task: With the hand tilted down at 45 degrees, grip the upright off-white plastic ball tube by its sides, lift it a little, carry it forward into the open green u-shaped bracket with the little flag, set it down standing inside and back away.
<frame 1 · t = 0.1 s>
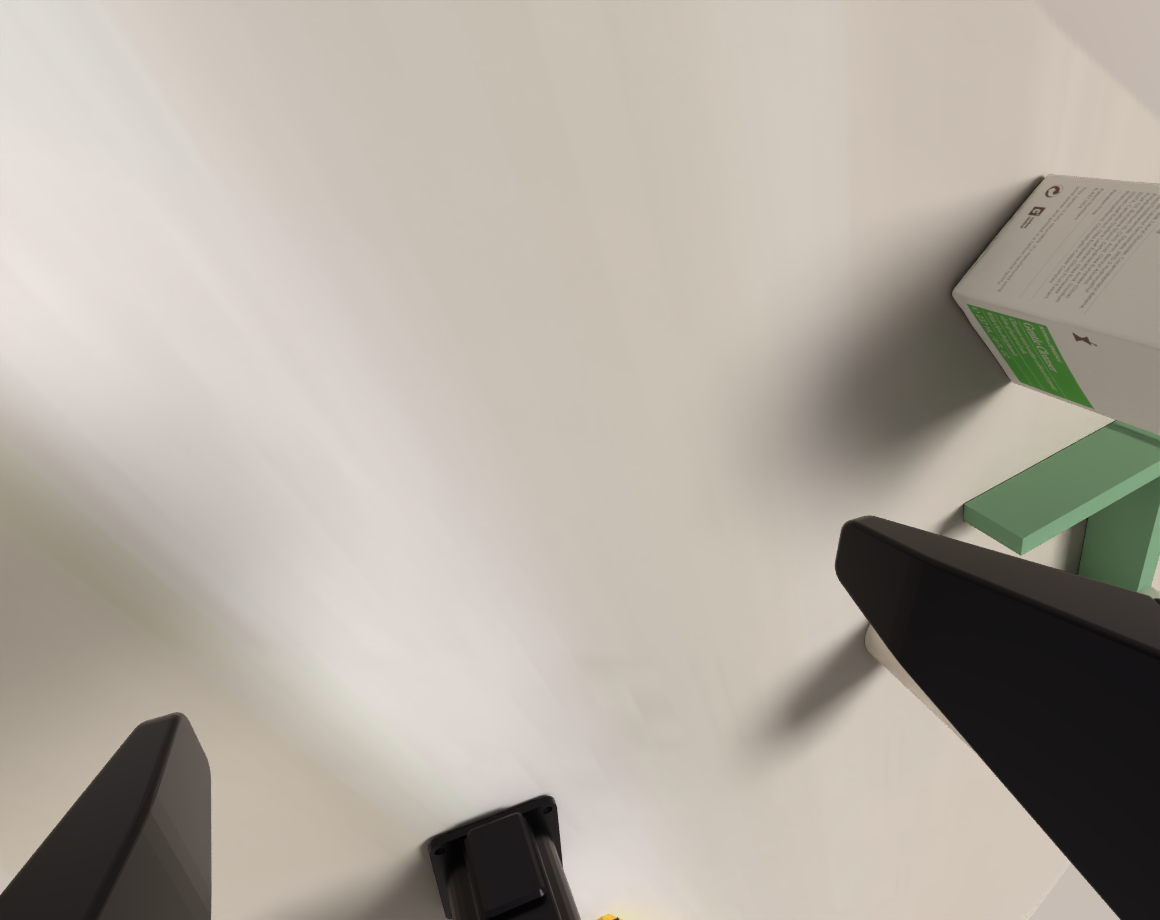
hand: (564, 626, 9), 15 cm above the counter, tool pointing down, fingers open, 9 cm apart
green u-shaped bracket: (1032, 547, 40), on the counter
ball tube: (898, 623, 39), on the counter
skincare box: (1026, 283, 30), on the counter
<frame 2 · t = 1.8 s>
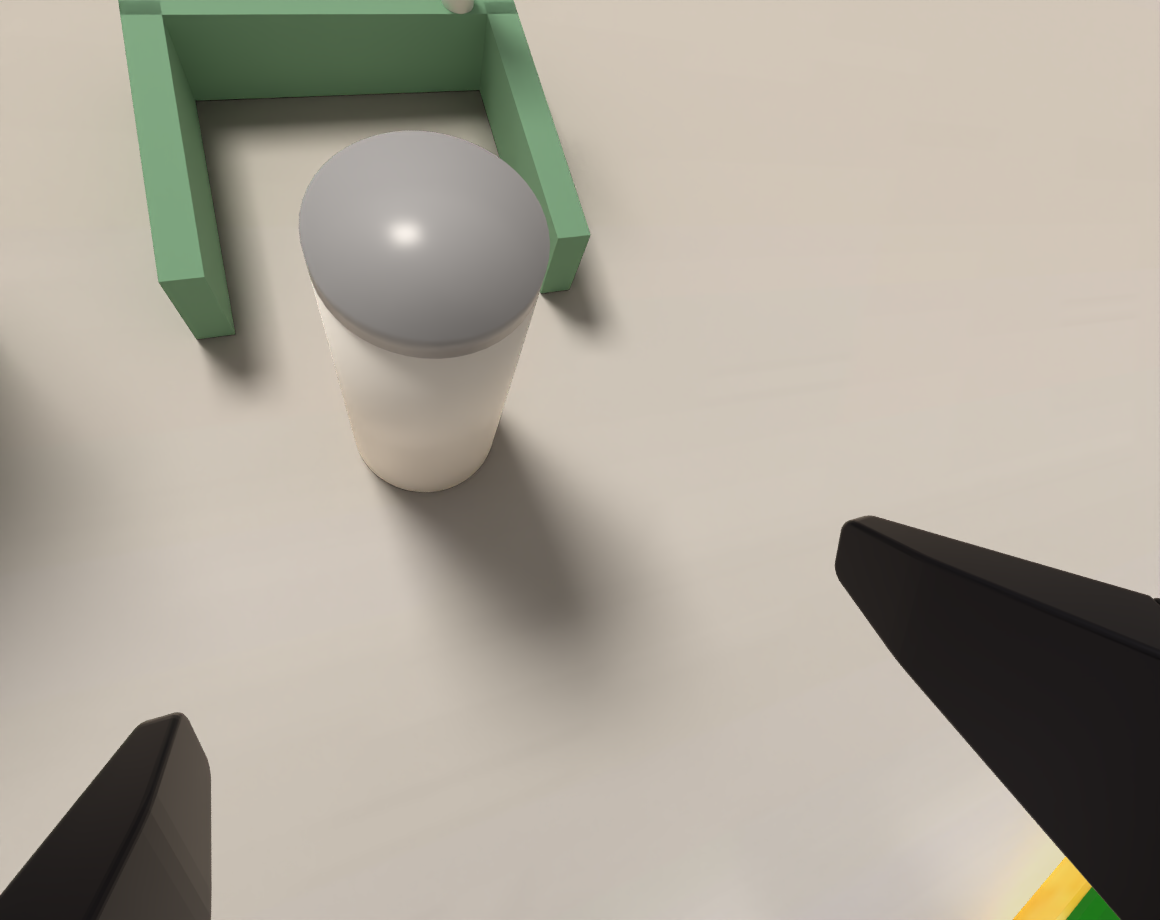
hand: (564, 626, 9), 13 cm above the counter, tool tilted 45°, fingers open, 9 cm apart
green u-shaped bracket: (368, 187, 25), on the counter
ball tube: (425, 426, 23), on the counter
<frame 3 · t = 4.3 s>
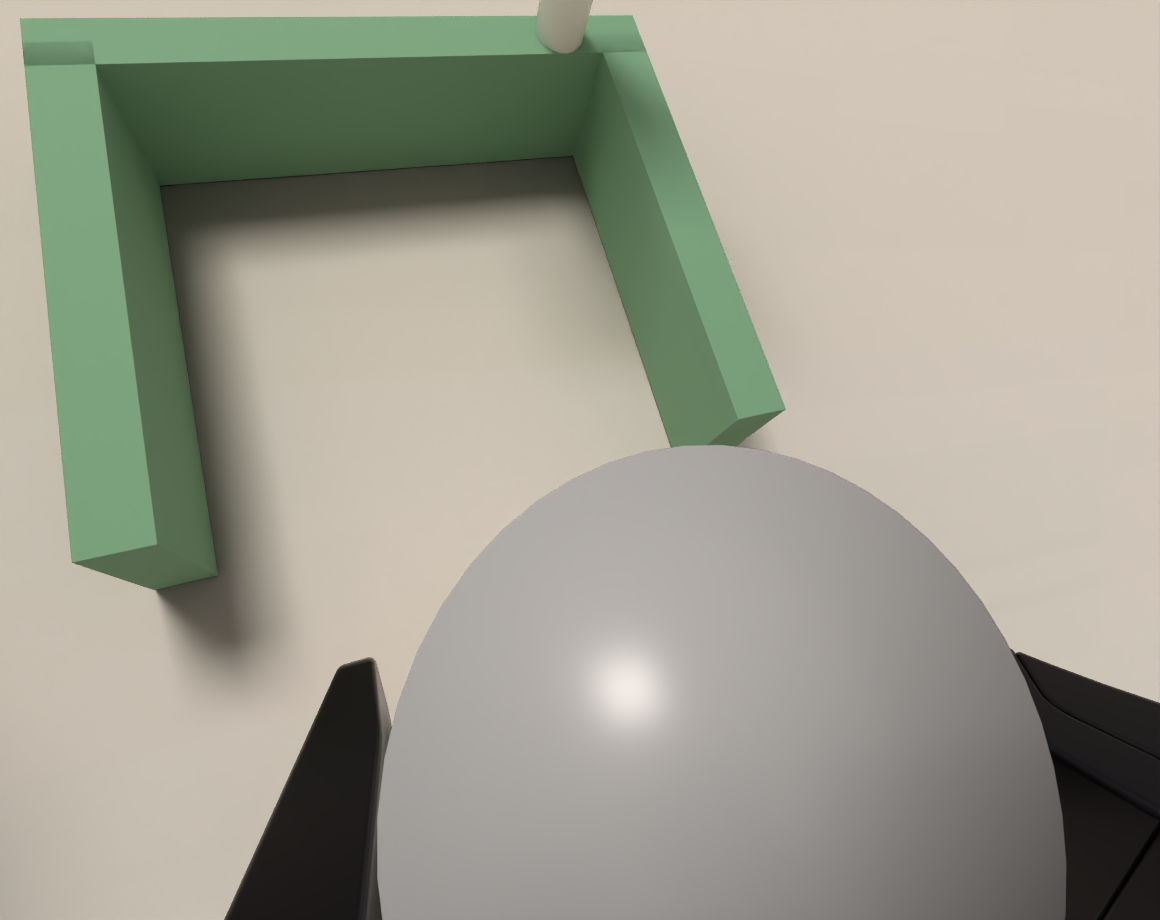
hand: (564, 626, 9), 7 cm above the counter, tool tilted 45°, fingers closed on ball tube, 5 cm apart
green u-shaped bracket: (421, 313, 17), on the counter
ball tube: (521, 710, 15), on the counter, touching gripper
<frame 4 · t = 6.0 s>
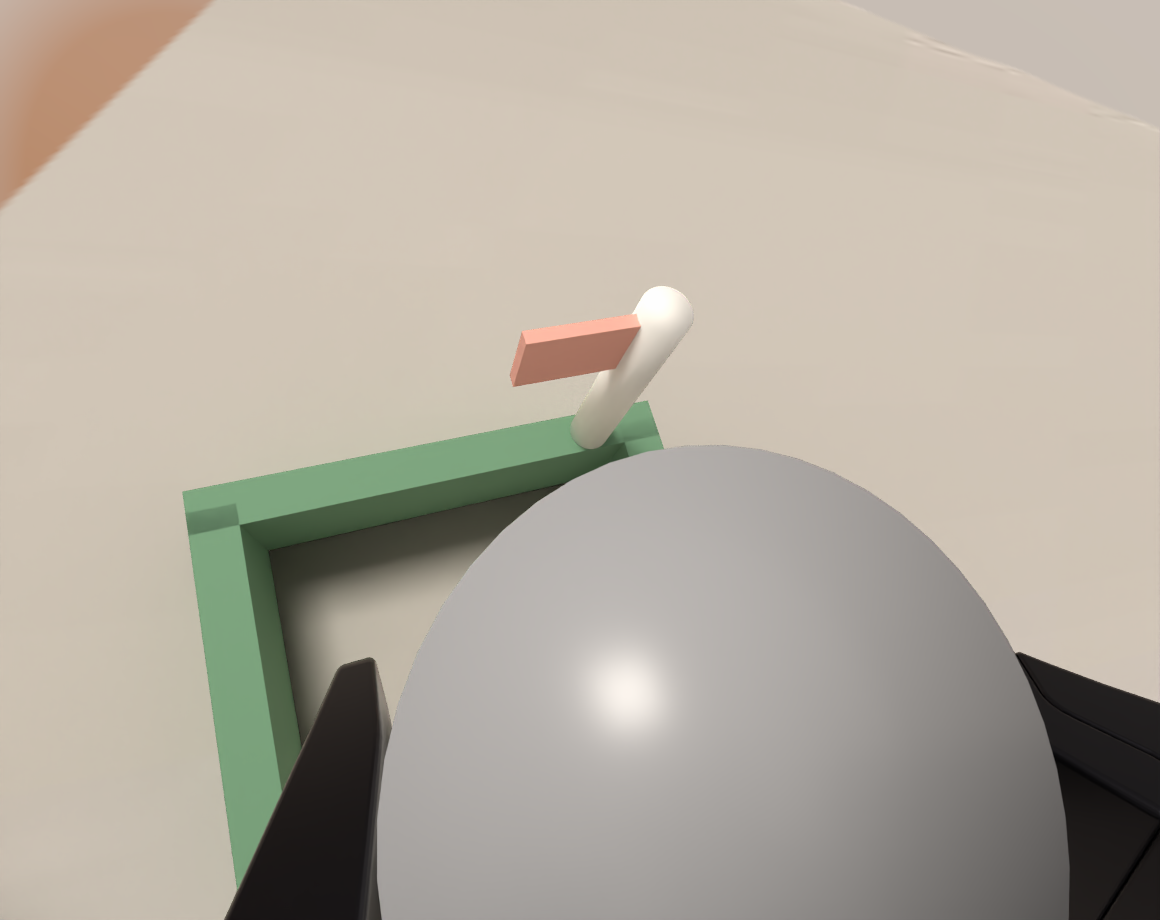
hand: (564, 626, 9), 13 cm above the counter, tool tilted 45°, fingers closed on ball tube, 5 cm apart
green u-shaped bracket: (477, 644, 21), on the counter
ball tube: (521, 711, 14), point 6 cm above the counter, touching gripper
when the fingers open (8 cm above the counter, at t = 7.6 s): ball tube drops 1 cm, on the counter.
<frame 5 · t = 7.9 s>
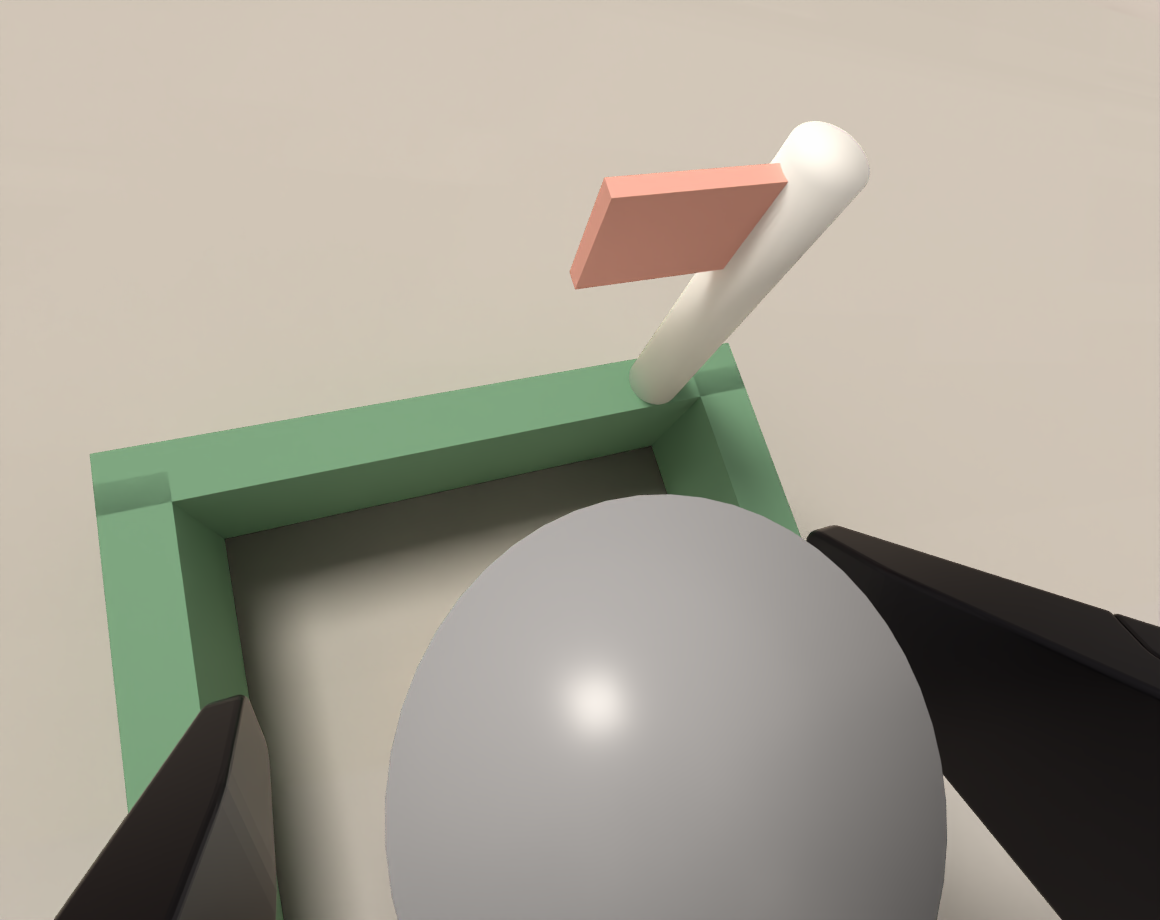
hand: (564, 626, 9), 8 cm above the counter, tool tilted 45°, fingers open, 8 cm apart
green u-shaped bracket: (502, 663, 16), on the counter
ball tube: (513, 711, 16), on the counter
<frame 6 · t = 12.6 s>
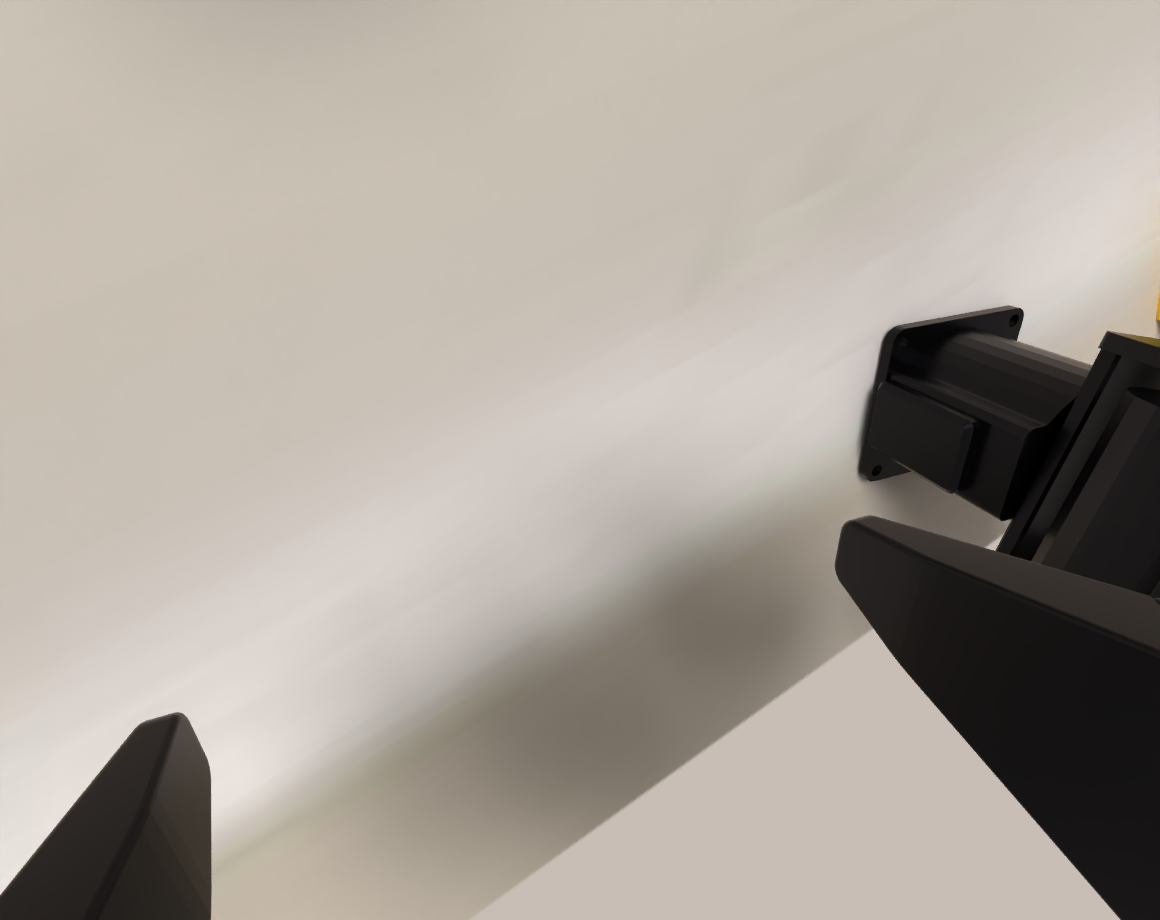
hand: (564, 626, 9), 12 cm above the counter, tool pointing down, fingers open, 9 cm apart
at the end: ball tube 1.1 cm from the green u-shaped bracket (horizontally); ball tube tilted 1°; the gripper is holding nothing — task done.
